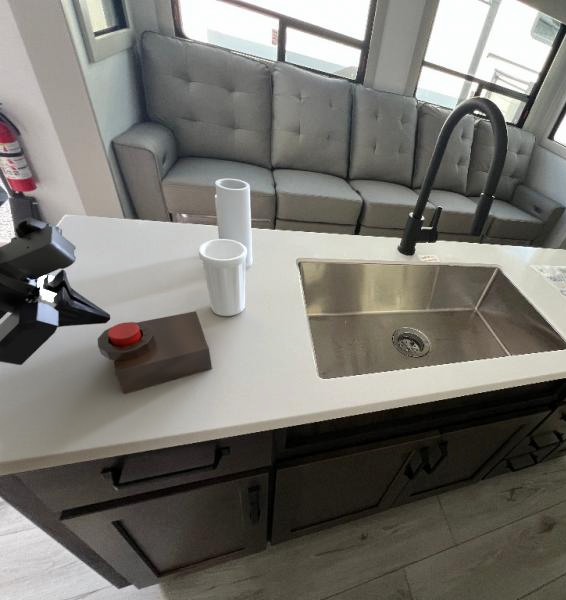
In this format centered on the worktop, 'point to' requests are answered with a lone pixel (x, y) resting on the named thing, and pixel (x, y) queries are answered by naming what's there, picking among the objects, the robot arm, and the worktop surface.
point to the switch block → (159, 352)
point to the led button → (124, 334)
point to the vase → (234, 213)
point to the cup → (225, 275)
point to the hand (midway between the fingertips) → (108, 319)
